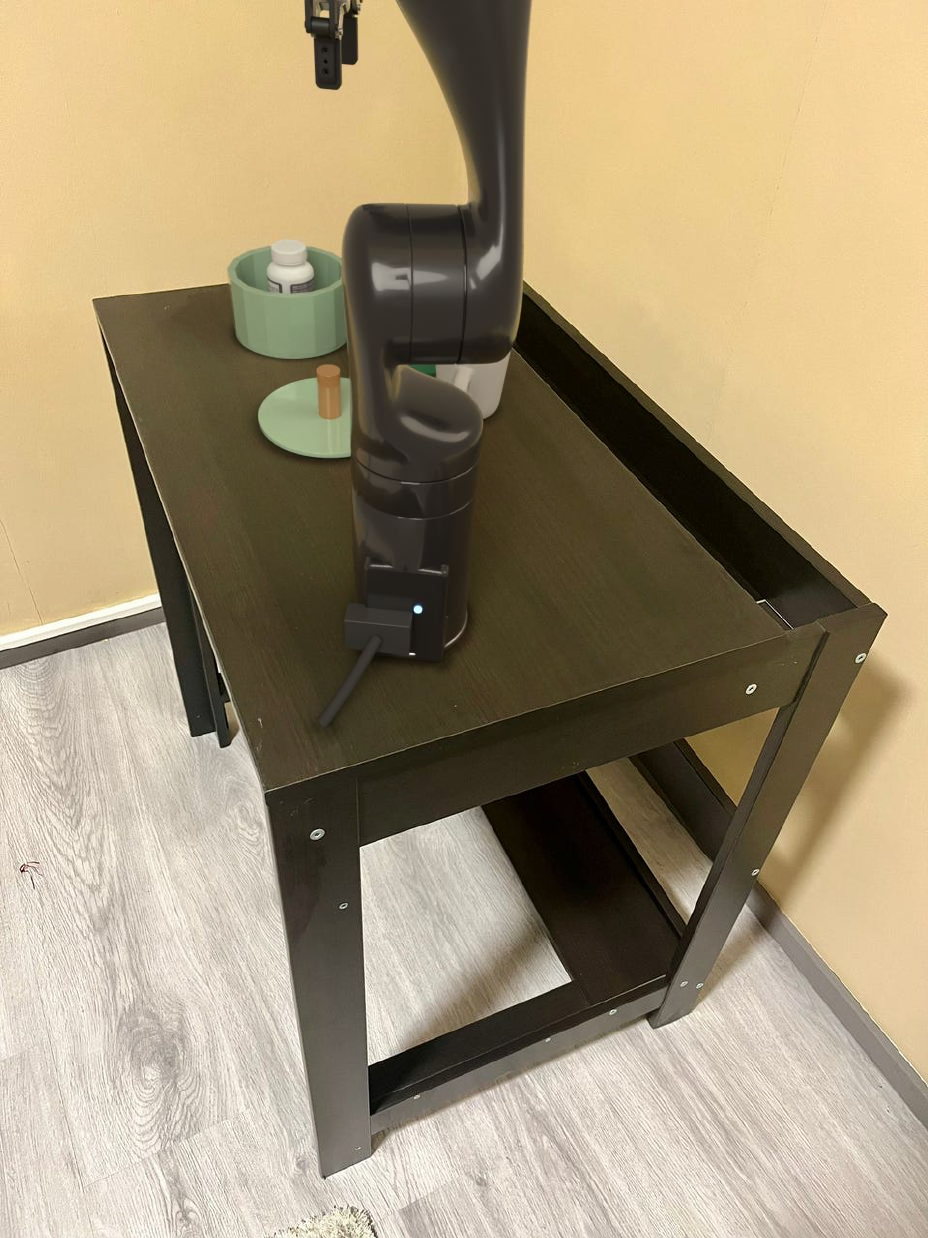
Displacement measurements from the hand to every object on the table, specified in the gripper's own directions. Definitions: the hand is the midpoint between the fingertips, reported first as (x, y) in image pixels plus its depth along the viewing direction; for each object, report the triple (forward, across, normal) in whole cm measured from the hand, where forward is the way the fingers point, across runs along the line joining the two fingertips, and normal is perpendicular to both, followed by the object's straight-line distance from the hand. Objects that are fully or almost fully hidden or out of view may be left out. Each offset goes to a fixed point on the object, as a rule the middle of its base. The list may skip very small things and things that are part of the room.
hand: (337, 75), depth 81 cm
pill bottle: (+30, +9, +8) cm, 32 cm away
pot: (+30, +9, +8) cm, 32 cm away
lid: (+29, -10, 0) cm, 31 cm away
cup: (+30, -6, -14) cm, 34 cm away
